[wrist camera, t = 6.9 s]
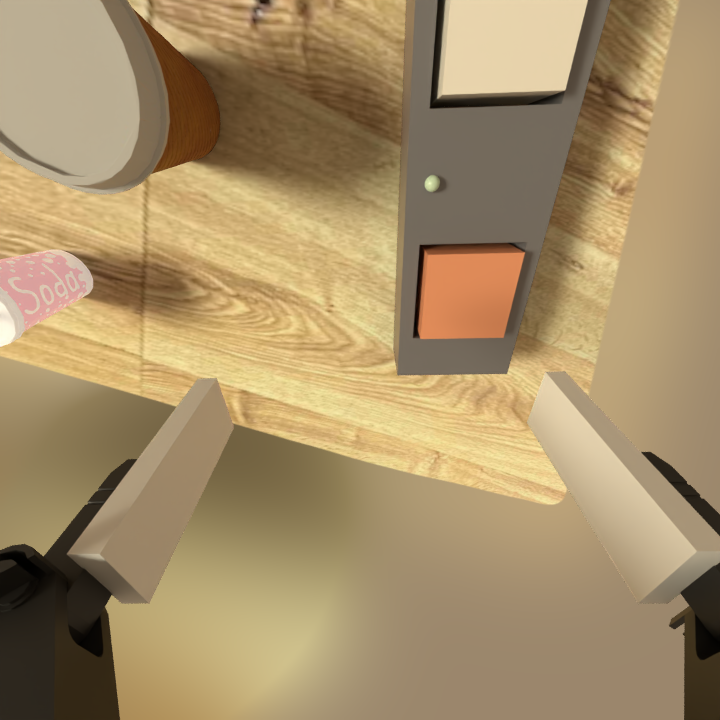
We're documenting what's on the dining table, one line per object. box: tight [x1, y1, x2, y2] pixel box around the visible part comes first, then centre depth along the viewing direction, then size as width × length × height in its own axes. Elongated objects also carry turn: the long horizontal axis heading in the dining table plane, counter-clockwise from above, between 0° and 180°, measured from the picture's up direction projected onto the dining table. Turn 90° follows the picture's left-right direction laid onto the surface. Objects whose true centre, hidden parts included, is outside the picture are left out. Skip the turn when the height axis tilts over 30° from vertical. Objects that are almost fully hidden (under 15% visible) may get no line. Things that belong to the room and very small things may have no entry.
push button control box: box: [393, 0, 611, 375], centre depth 22 cm, size 36×10×6 cm, turn 2°
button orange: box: [414, 243, 525, 339], centre depth 27 cm, size 7×7×5 cm
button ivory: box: [430, 0, 588, 108], centre depth 18 cm, size 7×7×5 cm
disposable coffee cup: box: [0, 0, 220, 194], centre depth 18 cm, size 10×10×12 cm
